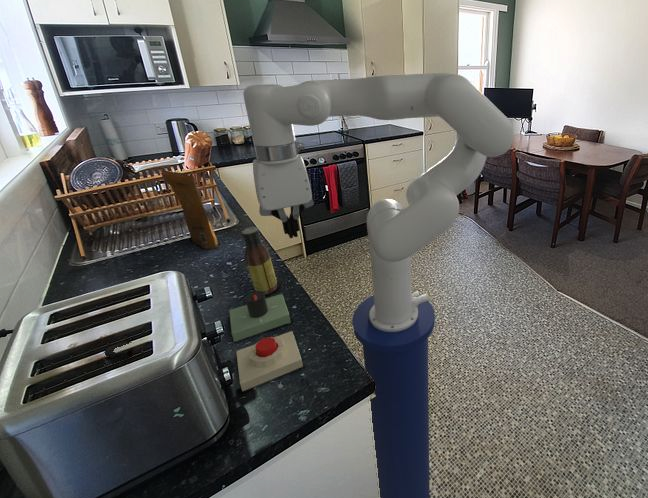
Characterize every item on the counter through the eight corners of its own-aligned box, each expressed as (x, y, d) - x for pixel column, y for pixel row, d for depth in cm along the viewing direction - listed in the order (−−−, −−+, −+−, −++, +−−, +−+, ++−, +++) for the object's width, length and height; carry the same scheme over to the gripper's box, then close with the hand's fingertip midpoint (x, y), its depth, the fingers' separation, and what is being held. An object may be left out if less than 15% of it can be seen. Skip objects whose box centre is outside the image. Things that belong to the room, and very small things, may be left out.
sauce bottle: (273, 280, 105) (260, 222, 97) (281, 290, 101) (268, 229, 93) (250, 290, 101) (235, 229, 93) (258, 299, 97) (242, 237, 89)
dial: (248, 310, 89) (243, 293, 87) (266, 304, 91) (262, 287, 89) (250, 320, 85) (245, 302, 83) (269, 313, 88) (265, 296, 85)
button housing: (293, 337, 83) (290, 324, 82) (303, 366, 75) (300, 352, 74) (238, 358, 78) (234, 344, 76) (242, 391, 70) (237, 377, 68)
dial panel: (283, 301, 96) (282, 293, 95) (290, 322, 88) (289, 314, 87) (231, 317, 90) (229, 309, 89) (234, 342, 82) (231, 333, 81)
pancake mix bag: (205, 254, 120) (182, 177, 109) (181, 240, 130) (157, 168, 119) (225, 246, 125) (204, 172, 114) (200, 233, 135) (179, 163, 124)
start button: (275, 340, 78) (273, 334, 77) (278, 352, 74) (276, 346, 74) (256, 347, 76) (254, 341, 75) (258, 360, 73) (256, 353, 72)
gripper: (310, 143, 74) (322, 220, 81) (232, 153, 67) (252, 237, 74) (320, 150, 68) (331, 233, 75) (235, 162, 61) (257, 252, 68)
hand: (292, 235), depth 74 cm, fingers closed
